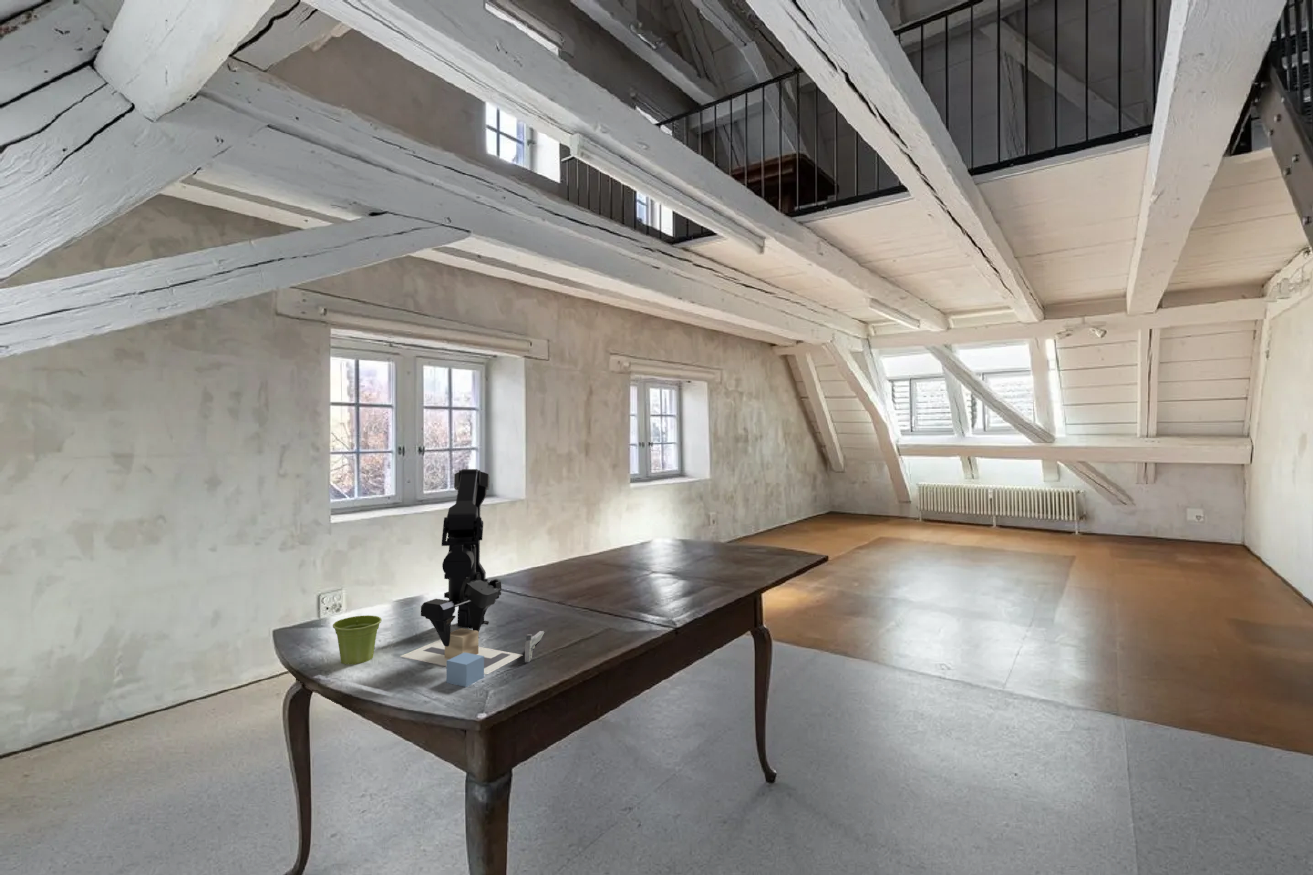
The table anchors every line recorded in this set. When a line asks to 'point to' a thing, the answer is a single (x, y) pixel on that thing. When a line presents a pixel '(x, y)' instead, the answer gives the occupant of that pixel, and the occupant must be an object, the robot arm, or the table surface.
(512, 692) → the table surface
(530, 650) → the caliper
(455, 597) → the robot arm
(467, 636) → the wood block
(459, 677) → the blue cube
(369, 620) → the plant pot
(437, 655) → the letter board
